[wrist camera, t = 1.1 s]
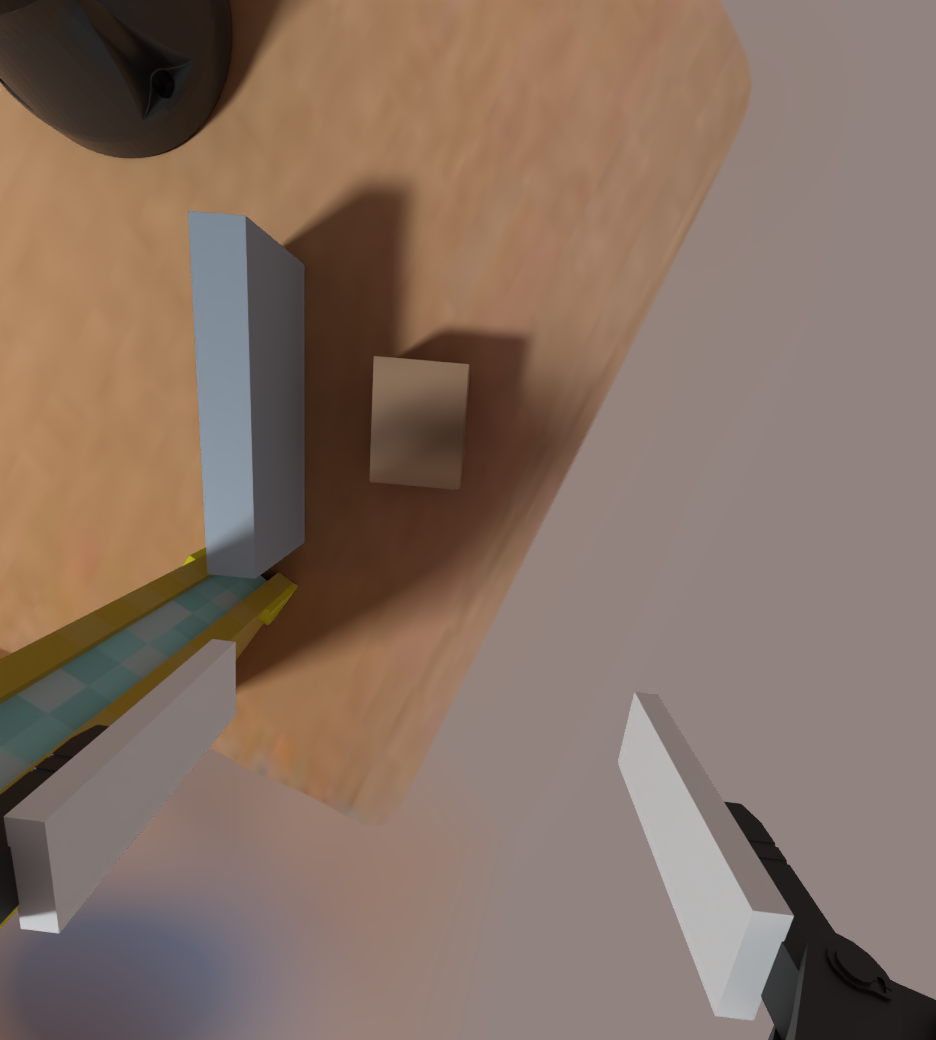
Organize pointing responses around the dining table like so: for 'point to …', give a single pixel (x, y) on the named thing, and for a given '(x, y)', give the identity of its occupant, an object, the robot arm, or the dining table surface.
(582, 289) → the dining table surface
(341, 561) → the dining table surface
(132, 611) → the yellow rounded trough
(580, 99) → the dining table surface
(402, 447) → the brown rectangular block
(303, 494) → the slate board
